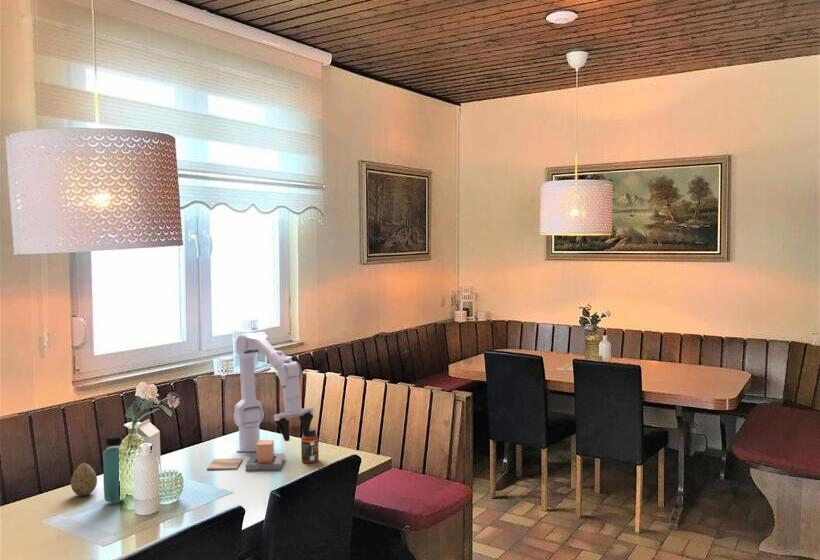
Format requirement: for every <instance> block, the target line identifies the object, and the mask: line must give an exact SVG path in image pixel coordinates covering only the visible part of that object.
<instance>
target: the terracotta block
mask: <svg viewBox="0 0 820 560" xmlns="http://www.w3.org/2000/svg"><path fill="white" fill-rule="evenodd" d="M274 443H275V441H274V439H267V440H266V439H263V440H262V439H260V440H259V441H258V443H257V451H256V454H257V462H274V454H275V453H274V452H275V448H274V447H275V445H274Z"/></svg>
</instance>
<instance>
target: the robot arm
mask: <svg viewBox="0 0 820 560" xmlns="http://www.w3.org/2000/svg"><path fill="white" fill-rule="evenodd" d="M235 341H236V342H235V344H236V354H237V356H238V357H239V372H240V373H239V375H240V393H241V395H240V397H241V399H240V400H239V401H238V402H237V403H236V404H234V412H233V421H234V424H236V426H237V427H238V439H239V440H238V441H239V442H238V443H239V445H238V447H237V450H236V453H241V452H242V453H243V452H244V453H245V452H257V443H258V441H259V440H261V438H260V435H261V434H260V431H261V430H260V425H262V424H261V422H262V421H263V420H264V417H265V413H264V409H263V407H262V406H263V405H262V402H261V401H259V399H257V398H256V397H257V396H256V379H255V378H256V377H255V375H256V374H255V358H254V357H255V356H256V355H257V354H258V353H259V352H260V353H261V354H263V355H264V356H265V357H267V361H268V363H269V365H270V366H271V367H272V368H273V369H275V371H276V373H277V378H278V379H279V384H280V386H282V396H283V405H284V411H283V412H280V413H276V414H273V421H274V422H275V424H276V426H277V427H278V428H279V430H280V433H281V434H282V438H283V440H284V442H290V420H288V419H291V418H296V417H299V421H300V423H301V428H302V436H309V428H311V423H312V420H313V418H314V407H309V406H308V407H306V408H305V407H304V408H303V407H302V397H301V388H300V387H301V386H300V380H299V378H300V377H301V375H302V367H301V365H300V363H299V362H298V361H296V360H295V361H294V360H291V359H290V358H289V357H288V356H286V354H285V353H284V352H283V351H282V350H276V349H275V348H274V347H273V345H272V344H271V343H270V342H269V336H268V335H267V334H266V333H265V331H260V332H251V333H240V334H239V335H238V337H237V338H236V340H235Z"/></svg>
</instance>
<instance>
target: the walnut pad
mask: <svg viewBox="0 0 820 560" xmlns="http://www.w3.org/2000/svg"><path fill="white" fill-rule="evenodd" d="M243 460H244V459H243V458H214V459H213V460H212V461H211V462H210V464H209V465H208V466H207V468H206V471H224V470H225V471H228V470H229V471H232V470H235V469H237V468H238V469H239V467H240V466H241V464H242V462H243ZM238 469H237V470H238Z"/></svg>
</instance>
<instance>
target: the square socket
mask: <svg viewBox="0 0 820 560" xmlns="http://www.w3.org/2000/svg"><path fill="white" fill-rule="evenodd" d="M285 455H286V454H285V453H274V462H257V453H255V454H251V455H250V456H249V458H248V460H247V462H246V464H245V472H257V471H258V472H259V471H262V472H263V471H281V469H282V467H283V464H284V462H285V460H284V459H285Z"/></svg>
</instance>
